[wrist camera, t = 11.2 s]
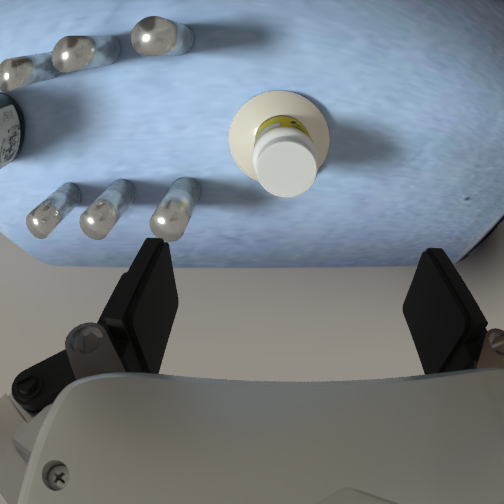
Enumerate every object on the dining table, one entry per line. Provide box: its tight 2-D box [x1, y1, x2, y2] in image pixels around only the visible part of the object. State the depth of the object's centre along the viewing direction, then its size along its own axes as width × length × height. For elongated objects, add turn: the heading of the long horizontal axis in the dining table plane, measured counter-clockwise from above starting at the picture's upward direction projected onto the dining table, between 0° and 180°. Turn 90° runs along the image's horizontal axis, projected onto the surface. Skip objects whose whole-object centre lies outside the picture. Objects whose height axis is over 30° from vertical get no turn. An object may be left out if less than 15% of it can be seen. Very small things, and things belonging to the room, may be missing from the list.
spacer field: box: [0, 16, 201, 242], centre depth 24 cm, size 17×18×7 cm
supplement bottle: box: [252, 115, 318, 198], centre depth 24 cm, size 5×5×8 cm
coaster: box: [229, 90, 330, 182], centre depth 28 cm, size 9×9×1 cm
